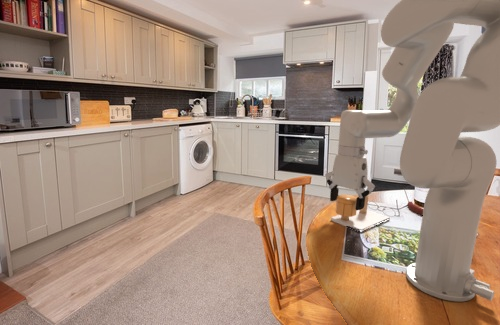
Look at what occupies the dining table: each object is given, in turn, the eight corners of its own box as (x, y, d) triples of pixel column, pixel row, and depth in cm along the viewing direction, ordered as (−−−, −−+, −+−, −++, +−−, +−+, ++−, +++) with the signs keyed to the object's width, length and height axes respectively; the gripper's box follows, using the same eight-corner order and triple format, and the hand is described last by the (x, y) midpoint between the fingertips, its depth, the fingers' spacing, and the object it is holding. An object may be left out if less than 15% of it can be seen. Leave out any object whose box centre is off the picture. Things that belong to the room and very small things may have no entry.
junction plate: (389, 220, 96) (391, 199, 95) (360, 232, 87) (363, 210, 85) (359, 210, 105) (361, 191, 103) (330, 220, 95) (332, 199, 94)
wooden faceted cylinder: (348, 218, 89) (349, 202, 88) (332, 211, 94) (333, 196, 93) (359, 213, 93) (361, 198, 92) (343, 207, 97) (344, 193, 96)
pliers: (422, 228, 91) (423, 220, 90) (405, 206, 110) (406, 200, 110) (464, 233, 88) (465, 225, 88) (440, 210, 107) (441, 203, 107)
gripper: (384, 154, 85) (378, 210, 88) (335, 146, 98) (331, 195, 102) (370, 157, 80) (364, 216, 84) (320, 148, 94) (317, 199, 97)
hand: (346, 204), depth 93 cm, fingers open, 9 cm apart
